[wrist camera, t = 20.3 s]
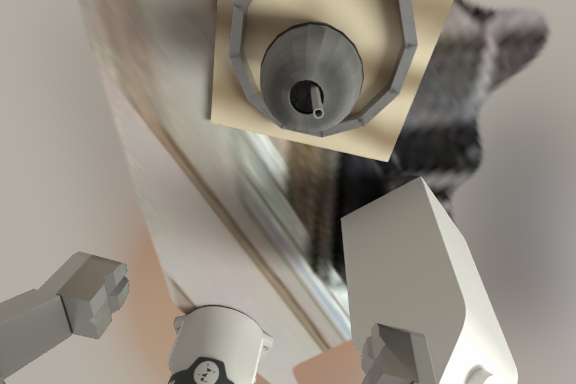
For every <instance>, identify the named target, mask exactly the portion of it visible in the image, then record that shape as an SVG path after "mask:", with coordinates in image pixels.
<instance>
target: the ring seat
mask: <svg viewBox="0 0 576 384" xmlns="http://www.w3.org/2000/svg"><path fill="white" fill-rule="evenodd" d="M453 1H454V0H217V15H216V33H215V52H214V71H213V89H212V108H211V123H215V124H220V125H224V126H229V127H233V128H237V129H242V130H246V131H251V132H255V133H260V134H264V135H269V136H273V137H278V138H282V139H287V140H291V141H296V142H300V143H305V144H309V145H313V146H318V147H322V148H327V149H331V150H336V151H340V152H345V153H349V154H354V155H358V156H363V157H367V158H372V159H376V160H380V161H385V162H388V160H389V158H390V155H391V153H392V150H393V148H394V146H395V143H396V141H397V138H398V136H399V133H400V131H401V128H402V126H403V123H404V121H405V119H406V116H407V114H408V111H409V109H410V106H411V104H412V101H413V99H414V96H415V94H416V92H417V89H418V87H419V84H420V82H421V79H422V77H423V74H424V72H425V70H426V67H427V65H428V62H429V60H430V57H431V55H432V52H433V50H434V47H435V45H436V43H437V40H438V38H439V35H440V33H441V30H442V28H443V25H444V23H445V20H446V18H447V16H448V13H449V11H450V8H451V6H452V3H453ZM306 22H324V23H328V24H330V25H331V26H333V27H335V28H336V29H338V30H340V31H342V32H343V33H344V34H345V35H346V36H347V37H348V38H349V39H350V40H351V41H352V42H353V43H354V44H355V46H356V48H357V50H358V52H359V55H360V57H361V59H362V62H363V72H364V81H363V85H362V90H361V94H360V96H359V98H358V100H357V101H356V103H355V105H354V107H353V108H352V110H351V112H350V113H349V115H347V116H346V117H345V118H344V119H343V120H342V121H341V122H340V123H339V124H337V125H335V126H333V127H331V128H329V129H327V130H325V131H320V132H314V133H306V132H298V131H295V130H293V129H290V128H288V127H286V126H284V125H283V124H281V123H280V122H279V121H278V120H277V119H276V118H275V117H273V115H272V114H271V112H270V111H269V109H268V108H267V106H266V104H265V103H264V100H263V96H262V92H261V88H260V69H261V63H262V60H263V57H264V54H265V52H266V49H267V48H268V46H269V45H270V44H271V43H272V41H273V40H274V39H275V38H276V36H277V35H278V34H280V33H282V32H283V31H285V30H286V29H288V28H289V27H291V26H293V25H298V24H302V23H306Z"/></svg>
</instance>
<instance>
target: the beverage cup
mask: <svg viewBox="0 0 576 384" xmlns="http://www.w3.org/2000/svg"><path fill="white" fill-rule="evenodd" d="M363 81H364V72H363V62H362V59H361V57H360V55H359V52H358V50H357V48H356V46H355V44H354V43H353V42H352V41H351V40H350V39H349V38H348V37H347V36H346V35H345V34H344V33H343V32H342V31H340V30H338V29H336V28H335V27H333V26H331V25H330V24H328V23H324V22H306V23H302V24H298V25H293V26H291V27H289V28H288V29H286V30H285V31H283V32H282V33H280V34H278V35H277V36H276V38H275V39H274V40H273V41H272V43H271V44H270V45H269V46H268V48H267V49H266V52H265V54H264V57H263V60H262V63H261V69H260V88H261V92H262V96H263V100H264V103H265V104H266V106H267V108H268V109H269V111H270V112H271V114H272V115H273V117H275V118H276V119H277V120H278V121H279V122H280V123H281V124H283V125H284V126H286V127H288V128H290V129H293V130H295V131H298V132H306V133H314V132H320V131H325V130H327V129H329V128H331V127H333V126H335V125H337V124H339V123H340V122H341V121H342V120H343V119H344V118H345V117H346V116H347V115H349V113H350V112H351V110H352V108H353V107H354V105H355V103H356V101H357V100H358V98H359V96H360V94H361V90H362V85H363Z"/></svg>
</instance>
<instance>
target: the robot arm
mask: <svg viewBox="0 0 576 384" xmlns="http://www.w3.org/2000/svg"><path fill="white" fill-rule="evenodd" d="M127 271H128V270H127V265H126V264H125V263H121V262H117V261H113V260H110V259H106V258H103V257H99V256H95V255H91V254H87V253H82V252H77V253H76V254H74V255H72V256H71V258H69V260H67V261H66V262H65V263H64V264H63V265H62V266H61V267H60V268H59V270H58V271H56V272H55V274H53V275H52V276H51V278H49V279H48V281H46V282H45V284H43V285H42V286H41V287H40V288H39V290H35V289H32V290H30V291H28V292H25V293H23V294H21V295H18V296H16V297H13V298H11V299H9V300H6V301H4V302H2V303H0V384H5V382H4V379H6V378H7V377H9V376H10V375H12V374H13V373H15V372H16V371H18V370H19V369H21V368H22V367H24V366H25V365H27V364H28V363H30V362H32V361H33V360H35V359H36V358H38V357H39V356H41V355H42V354H44V353H45V352H47V351H49V350H50V349H51V348H53V347H55V346H56V345H58V344H59V343H61V342H62V341H64V340H65V339H67V338H68V337H70V336H71V335H72V334H76V335H81V336H85V337H90V338H95V339H99V338H100V337H101V336H102V334H103V333H104V331H105V330H106V328H107V326H108V325H109V324H110V323H111V321H112V319H111V314H112V313H113V312H115V311H117V310H119V309H120V308H121V307H122V305H123V303H124V302H125V300H126V297H127V295H128V293H129V286H130V285H129V280H128V279H127V278H126V277H125V274H126V273H127ZM174 327H175V330H176V333H177V338H176V341H175V343H174V346H173V349H172V351H171V354H170V357H169V359H168V365H169V369H170V370H171V372H172V376H171V378H170V380H169V382H168V384H255V381H256V371H257V367H258V366H259V365H260V363H261V362H262V360H263V359H264V357H265V356H266V354H267V353H268V352H269V350H270V349H271V347H272V345H273V342H274V340H273V339H272V338H271V337H270V336H268V335H267V334H265V333H264V332H263V331H262V330H261V329H260V328H259V326H258V325H257V324H256V323H255V322H254V321H253V320H252V319H251V318H249V317H248V316H246V315H244V314H242V313H240V312H238V311H236V310H233V309H229V308H224V307H216V306H210V307H203V308H199V309H197V310H195V311H193V312H191V313H190V314H188V315H184V316H179V317H176V318H175V321H174ZM371 335H372V336H370V337H368V338H366V341H365V343H364V346H363V350H362V360H361V361H362V369H363V371H364V372H365V374H366V376H365V378H364V380H363V382H362V384H437V383H436V378H435V374H434V370H433V365H432V361H431V357H430V352H429V348H428V344H427V339H426V337H425V335H424V334H421V333H416V332H412V331H407V330H405V329H401V328H396V327H392V326H387V325H383V324H378V323H376V324H374V325H373V327H372V329H371Z"/></svg>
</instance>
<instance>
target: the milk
mask: <svg viewBox="0 0 576 384" xmlns="http://www.w3.org/2000/svg"><path fill="white" fill-rule="evenodd" d="M341 226H342V237H343V247H344V258H345V268H346V279H347V290H348V300H349V311H350V321H351V332H352V340H353V344H354V346H355V348H356V350H357V352H358V353H359V355H360V357H361V358H362V350H363V346H364V343H365V341H366V338H368V337H370V336H372V335H371V329H372V327H373V325H374V324H376V323H378V324H383V325H387V326H392V327H396V328H401V329H405V330H407V331H412V332H416V333H421V334H424V335H425V337H426V339H427V344H428V348H429V352H430V357H431V361H432V365H433V370H434V374H435V378H436V383H437V384H517V380H518V378H517V377H518V373H517V369H516V365H515V363H514V361H513V358H512V355H511V353H510V351H509V348H508V346H507V343H506V340H505V338H504V336H503V333H502V331H501V328H500V326H499V323H498V321H497V318H496V316H495V313H494V311H493V308H492V306H491V303H490V301H489V298H488V296H487V293H486V291H485V288H484V286H483V283H482V281H481V278H480V276H479V274H478V271H477V268H476V266H475V263H474V261H473V258H472V256H471V253H470V251H469V248H468V246H467V244H466V241H465V239H464V237H463V236H462V235H461V233H460V232H459V230H458V229H457V227H456V226H455V224H454V223H453V222H452V220H451V219H450V217H449V216H448V214H447V213H446V211H445V210H444V209H443V207H442V206H441V204H440V203H439V201H438V200H437V199H436V197H435V196H434V194H433V193H432V191H431V190H430V188H429V187H428V186H427V184H426V183H425V181H424V180H423V178H422V177H421V176H420V177H418V178H416V179H414V180H412V181H410V182H408V183H406V184H405V185H403V186H401V187H399V188H397V189H395V190H393V191H391V192H389V193H388V194H386V195H384V196H382V197H380V198H378V199H376V200H374V201H372V202H371V203H369V204H367V205H365V206H363V207H361V208H359V209H357V210H355V211H354V212H352V213H350V214H348V215H346V216H344V217H342V218H341Z"/></svg>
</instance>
